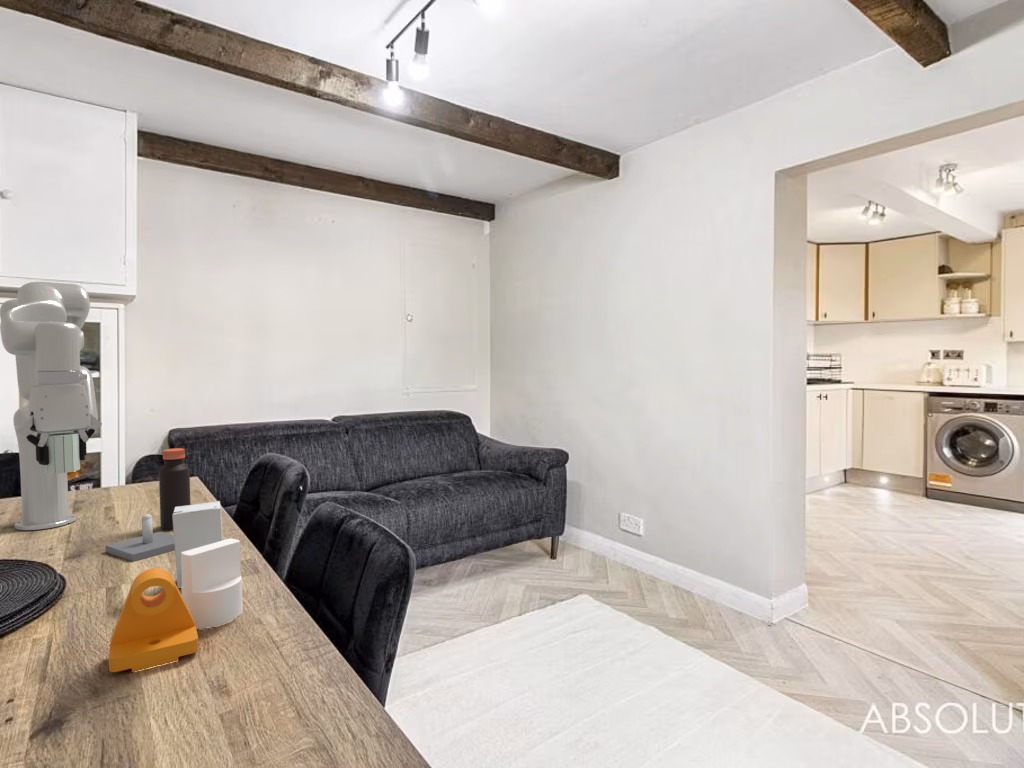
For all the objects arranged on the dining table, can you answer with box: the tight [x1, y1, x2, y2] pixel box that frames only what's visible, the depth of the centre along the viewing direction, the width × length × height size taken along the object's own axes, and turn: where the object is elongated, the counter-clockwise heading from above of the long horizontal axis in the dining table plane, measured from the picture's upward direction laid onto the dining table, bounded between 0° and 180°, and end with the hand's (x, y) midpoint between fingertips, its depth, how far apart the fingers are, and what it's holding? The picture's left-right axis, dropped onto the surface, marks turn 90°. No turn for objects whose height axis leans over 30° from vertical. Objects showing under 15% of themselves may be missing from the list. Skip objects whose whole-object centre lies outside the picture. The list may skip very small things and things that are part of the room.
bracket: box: [108, 567, 199, 673], centre depth 84 cm, size 11×7×12 cm
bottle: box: [158, 447, 192, 531], centre depth 149 cm, size 7×7×20 cm
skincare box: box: [172, 500, 224, 590], centre depth 112 cm, size 8×6×15 cm
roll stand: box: [104, 513, 175, 562], centre depth 132 cm, size 12×12×8 cm
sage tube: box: [44, 432, 81, 474], centre depth 126 cm, size 6×6×8 cm
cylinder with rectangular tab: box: [180, 538, 244, 628], centre depth 97 cm, size 9×9×12 cm
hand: (62, 461), depth 126 cm, fingers closed on sage tube, 6 cm apart
